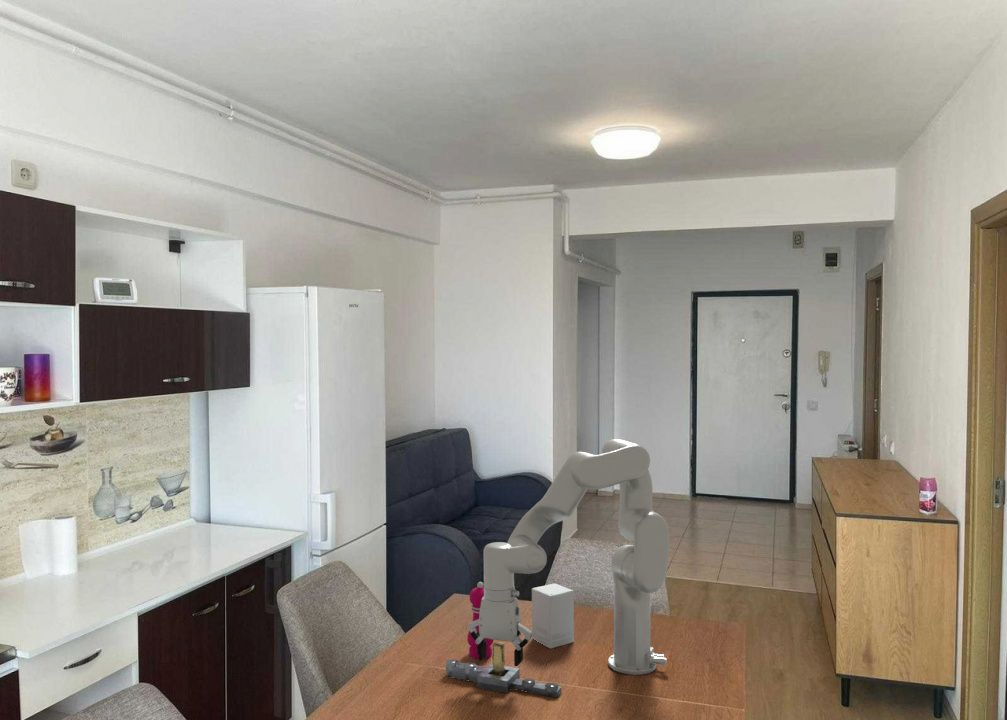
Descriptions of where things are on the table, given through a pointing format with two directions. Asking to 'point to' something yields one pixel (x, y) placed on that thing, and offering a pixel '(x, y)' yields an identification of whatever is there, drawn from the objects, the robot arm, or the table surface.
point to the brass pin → (499, 659)
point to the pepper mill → (476, 600)
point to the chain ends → (499, 678)
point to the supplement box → (553, 615)
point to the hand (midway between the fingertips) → (500, 661)
